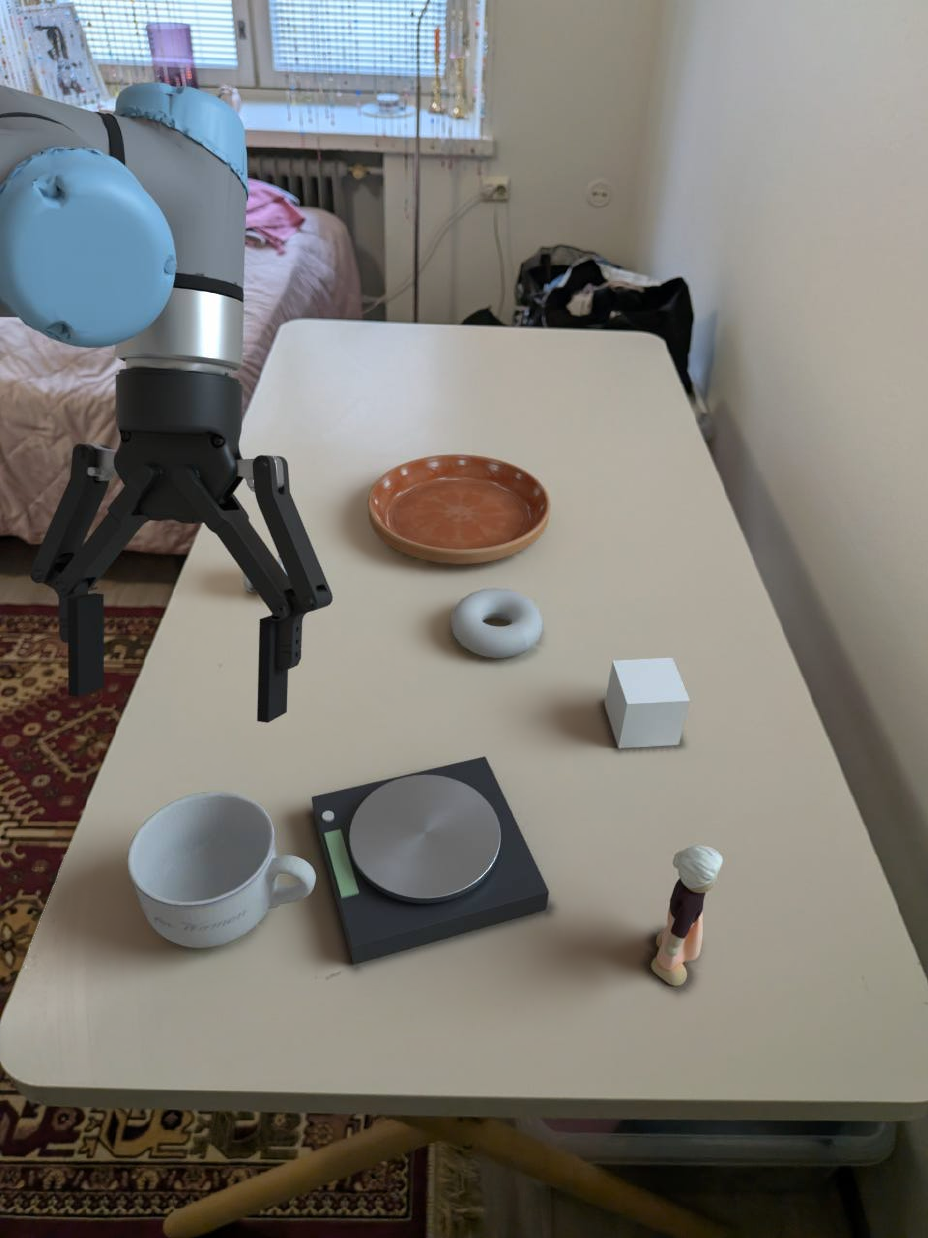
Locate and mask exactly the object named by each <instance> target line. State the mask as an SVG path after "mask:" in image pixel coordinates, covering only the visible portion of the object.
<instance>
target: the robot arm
mask: <svg viewBox="0 0 928 1238" xmlns="http://www.w3.org/2000/svg"><path fill="white" fill-rule="evenodd" d="M114 108H115V109H114V111H113V113H110V112H107V113H104V112H100V111H92V110H89V109H85V108H82V107H79V106H75V105H71V104H68V103H65V102H62V101H59V100H54V99H51V98H48V97H44V96H40V95H37V94H34V93H31V92H26V91H24V90H21V89H20V90H19V89H16V88H12V87H10V86H7V85H2V84H0V318H18V319H19V320H21V322H22V323H23V324H24V325H25V326H27V327H29V328H30V329H32V330H33V331H37V332H39V334H42V335H44V336H45V337H47V338H48V339H51V340H54V341H56V342H59V343H61V344H62V343H63V344H65V345H69V346H71V347H74V348H75V347H77V348H85V349H86V348H87V349H98V348H107V347H112V346H114V355H115V356H116V357H117V358H118V359H119V360H120V361H123V362H125V368H121V369H120V370H118V373H116V374H115V424H116V426H117V429H118V432H119V435H120V440H119V444H118V447H117V449H116V450H115V449H111V447H110V446H108V445H106V444H96V443H95V444H93V443H77V444H75V446H74V447H73V448H72V452H71V453H72V454H71V466H70V476H69V480H68V482H67V484H66V487H65V489H64V491H63V493H62V496H61V498H60V500H59V502H58V505H57V507H56V510H55V512H54V514H53V516H52V519H51V521H50V524H49V525H48V529H47V530H46V533H45V535H44V537H43V540H42V542H41V544H40V547H39V549H38V551H37V554H36V556H35V558H34V559H33V563H32V565H31V567H30V570H29V577H30V579H31V581H32V582H33V583H35V584H44V585H46V586H47V587H49V588H51V589H53V590H54V592H55V593H56V594H57V598H58V636H59V638H60V641H61V643H67V648H68V649H67V669H68V670H67V672H68V673H67V675H68V679H67V680H68V682H67V683H68V696H70V697H77V698H79V697H82V696H85V695H87V694H91V693H93V692H97V691H99V690H102V689H104V688H105V630H104V629H105V628H104V627H105V618H104V617H105V615H104V614H105V610H104V609H105V608H104V607H105V604H104V603H105V602H104V601H105V599H104V597H105V596H104V595H105V594H104V593H96V592H93V591H96V590H97V589H98V588H99V587H98V586H96V584H97V583H98V581H99V580H100V579H101V578H102V576H103V575H104V574H105V573H106V571H107V570H108V569H109V568H110V566H111V565H112V564H113V563H114V562H115V560H116V559H117V557H118V556H119V555H120V554H121V552H123V550H124V549H125V548H126V546H127V545H128V544H129V543H130V541H132V539H133V538H134V537H135V535H136V534H137V533H138V531H140V529H141V528H142V527H143V526H144V525H145V524H146V523H148V522H150V521H152V522H153V521H155V522H163V521H164V522H165V521H175V522H178V523H180V524H190V525H196V524H204V525H205V526H206V527H207V529H208V530H209V531H210V532H212V533H214V534H215V535H216V536H217V537H218V538H219V540H220V541H221V543H222V545H223V546H224V547H225V548H226V550H227V551H228V553H229V554H230V556H231V557H232V558H233V560H234V561H235V563H236V564H237V566H238V567H239V569H241V571H242V574H243V573H244V574H245V575H246V577H247V578H248V580H249V581H250V582H251V584H252V585H253V587H254V588H255V591H256V593H257V594H258V595H259V597H260V598H261V600H262V601H263V602H264V604H265V605H266V607H267V608H268V610H269V611H270V612H271V614H270V615H268V616H265V617H262V618H261V617H260V618H259V629H258V631H259V632H258V666H257V667H258V668H257V669H258V670H257V706H256V707H257V709H256V711H257V713H256V722H259V723H265V724H268V723H270V722H272V721H274V720H276V719H277V718H279V717H281V716H283V715H286V714H287V712H288V687H289V686H288V685H289V684H288V682H289V670H291V669H293V668H296V667H297V666H299V664H300V661H301V659H302V642H303V641H302V640H303V620H304V618H305V615H306V614H308V613H310V612H315V611H317V610H320V609H324V608H327V607H328V606H330V605H331V604H332V602H333V600H334V599H333V598H334V597H333V593H332V591H331V588H330V585H329V583H328V581H327V578H326V575H325V574H324V571H323V569H322V568H323V567H322V566H321V564H320V561H319V559H318V557H317V554H316V551H315V549H314V547H313V544H312V542H311V539H310V537H309V535H308V532H307V530H306V527H305V525H304V522H303V520H302V518H301V515H300V513H299V511H298V509H297V506H296V503H295V501H294V499H293V496H292V494H291V487H290V485H291V484H290V474H289V472H290V471H289V463H288V461H287V459H286V458H285V457H284V456H281V455H269V454H268V455H267V454H266V455H265V454H260V455H257V456H255V457H254V458H243V456H242V453H241V450H240V439H241V435H242V430H243V387H244V386H243V385H242V384H241V383H240V380H239V379H238V378H235V377H233V376H234V375H233V374H234V371H238V370H240V369H241V368H242V367H243V363H244V362H243V360H244V320H245V319H244V316H245V303H244V301H245V300H244V299H245V293H244V291H245V290H244V289H245V288H244V286H245V283H244V282H245V254H246V253H245V252H246V231H247V205H248V204H247V203H248V201H249V196H250V187H249V182H248V179H249V178H248V151H247V146H246V145H247V143H246V131H245V126H244V124H243V121H242V118H241V117H240V115H239V114H238V112H237V111H236V110H235V109H234V108H233V107H232V106H231V105H230V104H229V103H227V102H226V101H224V100H223V99H221V98H219V97H218V96H216V95H214V94H212V93H209V92H207V91H204V90H201V89H198V88H195V87H191V86H188V85H187V86H186V85H182V86H175V85H170V84H169V83H165V82H158V81H157V82H155V81H152V82H151V81H150V82H148V81H147V82H139V83H134V84H132V85H131V84H130V85H129V86H126V87H124V88H123V89H122V90H121V91H120V92H119V93H118V95H117V97H116V100H115V107H114ZM117 475H118V477H119V479H120V480H121V482H122V484H123V485H124V486H123V488H122V489H121V490H120V491H119V492H118V494H117V495H116V497H114V499H113V500H112V502H111V503H110V504H109V506H108V507H107V514H106V515H105V516H104V518H103V519H102V520H101V522H100V523H98V526H97V527H95V529H94V530H93V532H92V533H91V534H90V536H89V537H88V538H87V536H88V533H89V531H90V529H91V527H92V525H93V522H94V520H95V518H96V516H97V514H98V512H99V509H100V507H101V505H102V503H103V500H104V498H105V496H106V493H107V491H108V488H109V485H110V481H111V480H112V479H113V478H114V477H116V476H117ZM243 480H245V481H246V486H247V487H248V488H249V490H250V491H251V492H253V493H254V494H255V499H256V503H257V505H258V508H259V510H260V513H261V515H262V518H263V520H264V522H265V525H266V527H267V530H268V532H269V534H270V537H271V539H272V542H273V545H274V546H275V549H276V551H277V554H279V556H280V559H281V561H282V564H283V566H284V568H285V571H286V573H287V574H286V573H285V572H284V570H283V569H282V567H281V566H280V565H279V563H278V559H276V558H275V556H274V555H273V553H272V552H271V550H270V549H269V548H268V546H267V545H266V543H265V542H264V540H263V539H262V538H261V536H260V535H259V533H258V532H257V530H256V529H255V527H254V526H253V524H252V523H251V521H250V516H249V513H248V512H247V511H246V509H245V508H244V506H243V504H241V502H240V501H239V500H238V498H237V496H236V495H235V492H236V490H237V489H238V488H239V486H240V485H241V483H242V482H243ZM86 538H87V540H86ZM91 591H92V593H89V592H91Z"/></svg>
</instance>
